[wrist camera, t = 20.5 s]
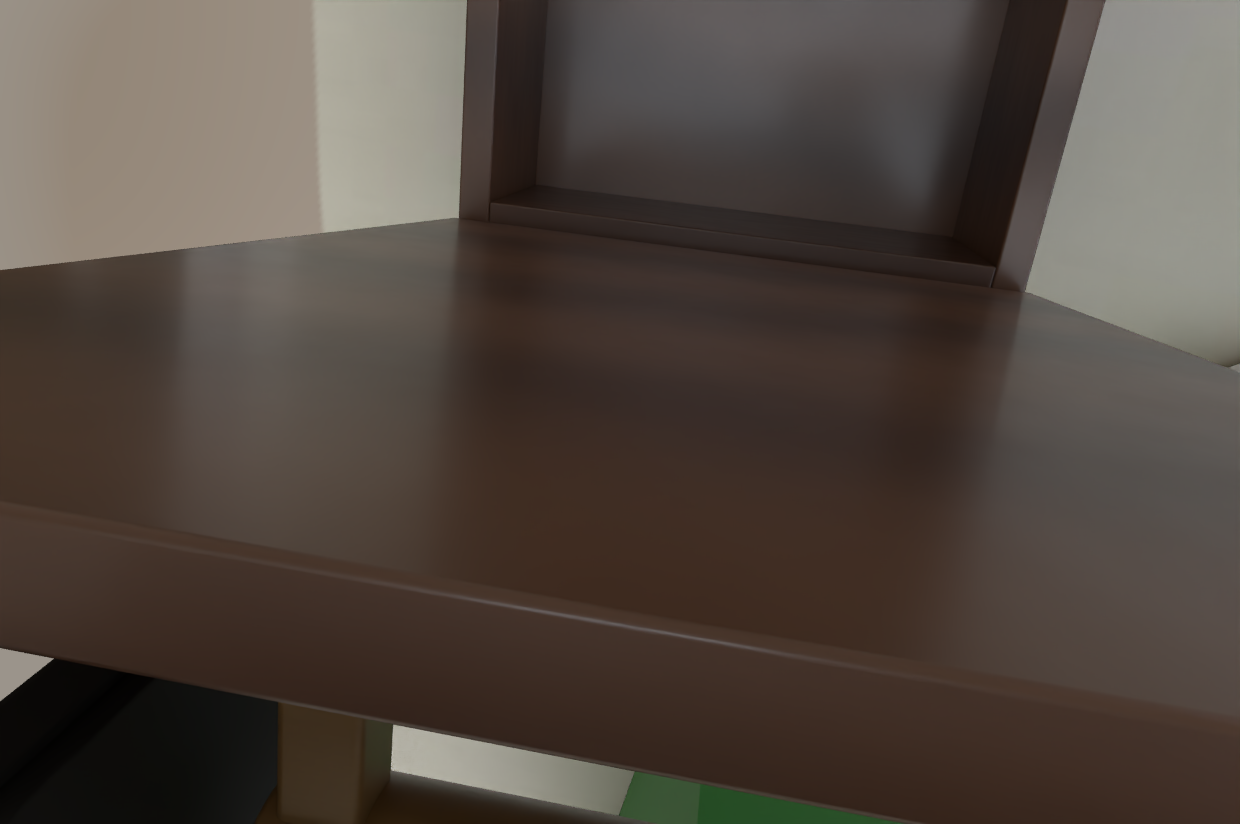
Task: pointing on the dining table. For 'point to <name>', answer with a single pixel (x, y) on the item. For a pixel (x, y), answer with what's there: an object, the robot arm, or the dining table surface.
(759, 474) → the chest lid
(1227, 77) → the dining table surface
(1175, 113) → the dining table surface
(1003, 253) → the chest
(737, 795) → the hardback book
